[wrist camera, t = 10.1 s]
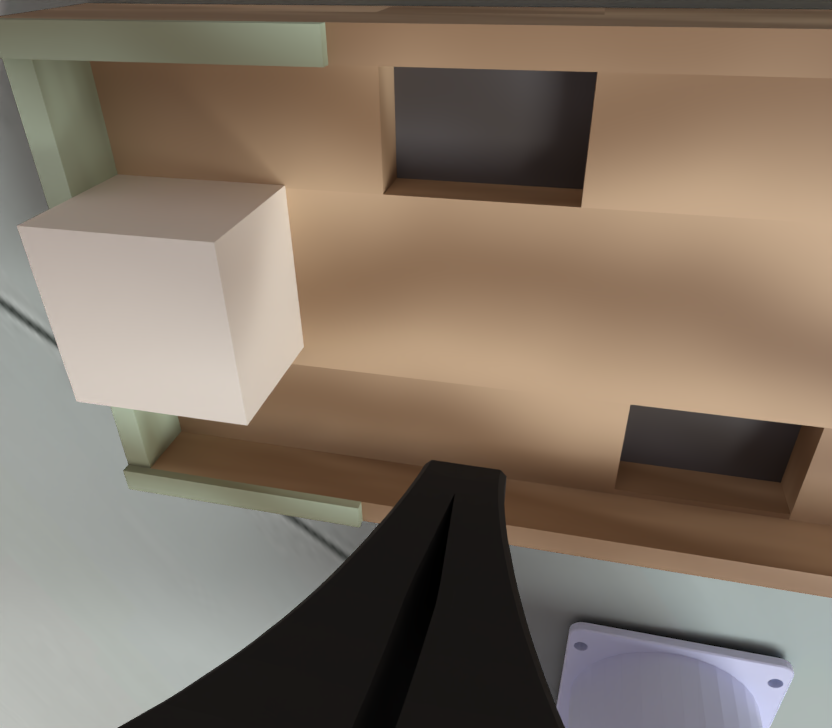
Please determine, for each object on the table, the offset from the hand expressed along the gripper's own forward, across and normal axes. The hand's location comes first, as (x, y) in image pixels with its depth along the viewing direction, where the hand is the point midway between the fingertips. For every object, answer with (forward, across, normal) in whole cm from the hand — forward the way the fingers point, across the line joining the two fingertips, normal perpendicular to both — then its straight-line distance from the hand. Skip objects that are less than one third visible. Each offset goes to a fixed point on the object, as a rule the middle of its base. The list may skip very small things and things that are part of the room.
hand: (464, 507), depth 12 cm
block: (+8, +9, 0) cm, 12 cm away
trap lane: (+9, -2, 0) cm, 10 cm away
